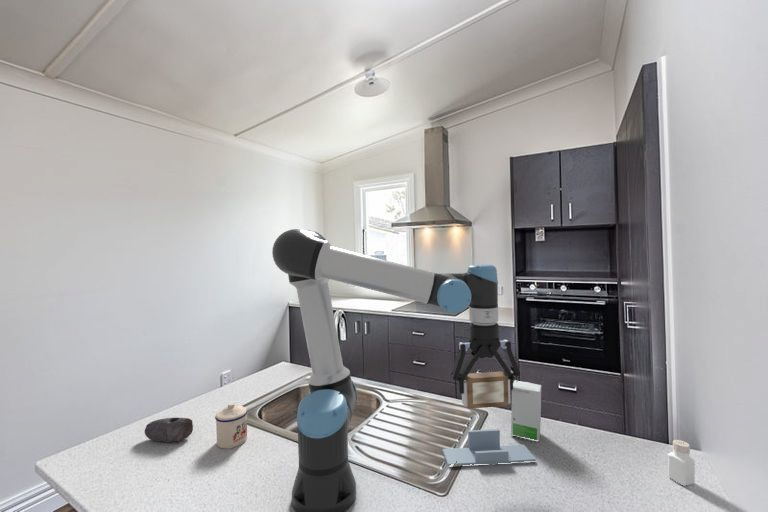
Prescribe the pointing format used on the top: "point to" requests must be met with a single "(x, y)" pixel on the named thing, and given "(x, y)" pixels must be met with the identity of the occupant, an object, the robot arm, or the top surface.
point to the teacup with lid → (231, 426)
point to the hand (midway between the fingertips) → (485, 403)
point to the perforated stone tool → (169, 429)
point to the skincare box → (526, 410)
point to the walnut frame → (487, 389)
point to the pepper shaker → (681, 463)
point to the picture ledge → (486, 450)
